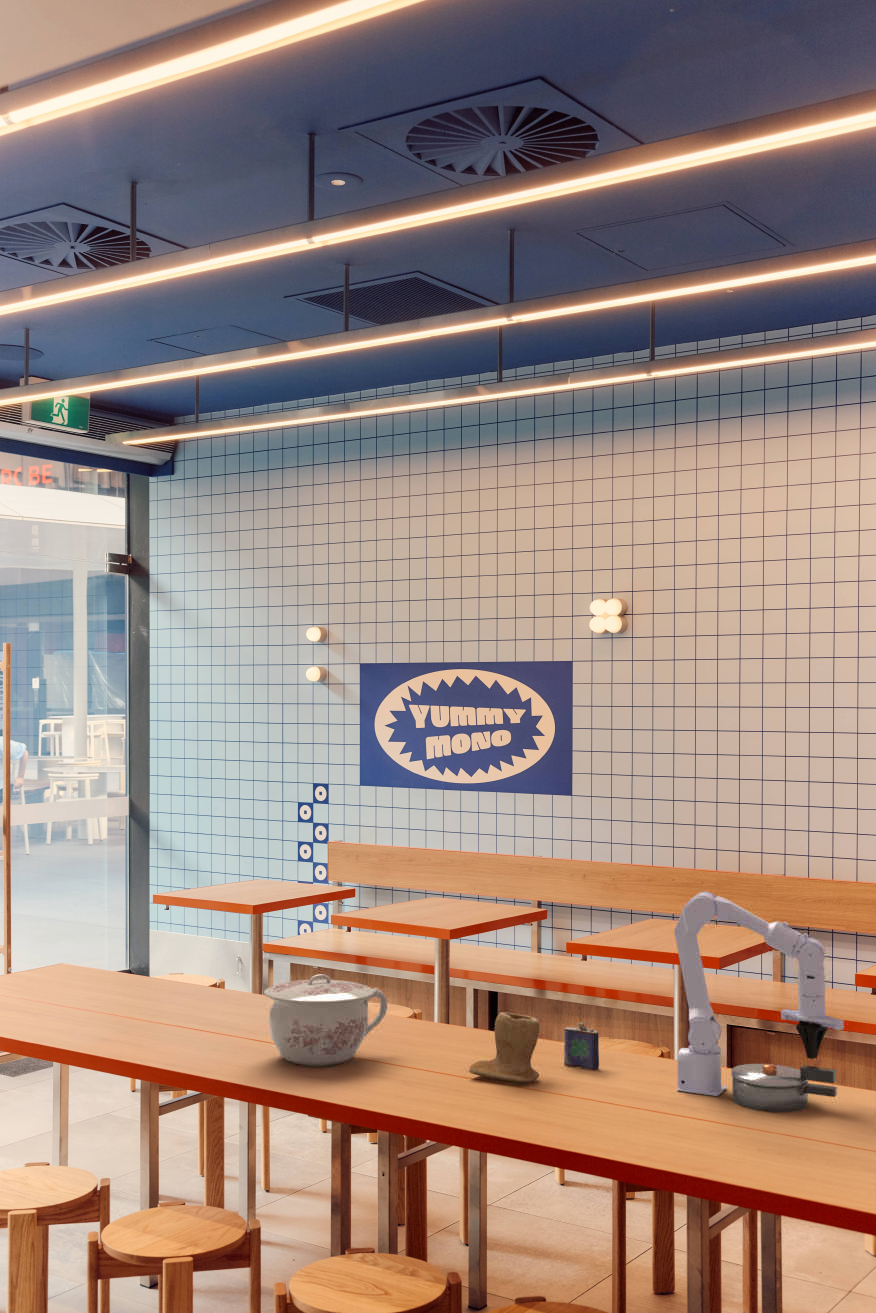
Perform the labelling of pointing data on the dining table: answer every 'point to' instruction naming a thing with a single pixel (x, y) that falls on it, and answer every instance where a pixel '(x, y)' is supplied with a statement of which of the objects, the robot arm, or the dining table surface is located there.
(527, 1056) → the brown boot
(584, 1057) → the flask
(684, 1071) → the robot arm
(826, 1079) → the cooker lid
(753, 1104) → the cooker pot
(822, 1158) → the dining table surface
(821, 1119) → the dining table surface
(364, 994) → the chamber pot
